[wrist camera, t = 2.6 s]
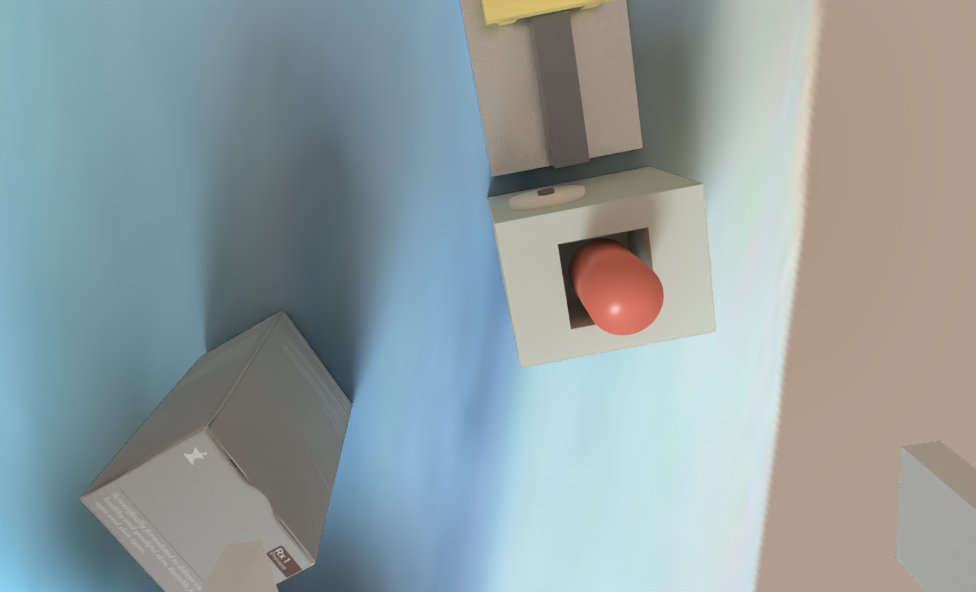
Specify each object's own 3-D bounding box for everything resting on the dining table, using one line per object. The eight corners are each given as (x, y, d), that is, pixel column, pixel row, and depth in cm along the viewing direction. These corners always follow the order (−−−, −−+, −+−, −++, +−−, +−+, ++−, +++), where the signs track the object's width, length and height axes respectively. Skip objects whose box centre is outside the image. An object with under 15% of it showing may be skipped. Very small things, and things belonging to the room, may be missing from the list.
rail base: (491, 175, 39) (493, 180, 36) (440, -104, 34) (439, -121, 32) (639, 147, 38) (651, 150, 36) (607, -137, 34) (618, -157, 32)
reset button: (573, 307, 33) (592, 341, 29) (564, 245, 32) (581, 269, 28) (637, 295, 33) (667, 327, 29) (630, 232, 32) (659, 254, 28)
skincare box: (202, 353, 41) (51, 498, 26) (296, 300, 40) (197, 418, 25) (278, 454, 43) (179, 642, 28) (368, 406, 43) (316, 572, 27)
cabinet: (508, 312, 41) (520, 368, 32) (485, 187, 39) (492, 211, 30) (662, 283, 41) (716, 331, 32) (648, 156, 39) (702, 171, 30)
